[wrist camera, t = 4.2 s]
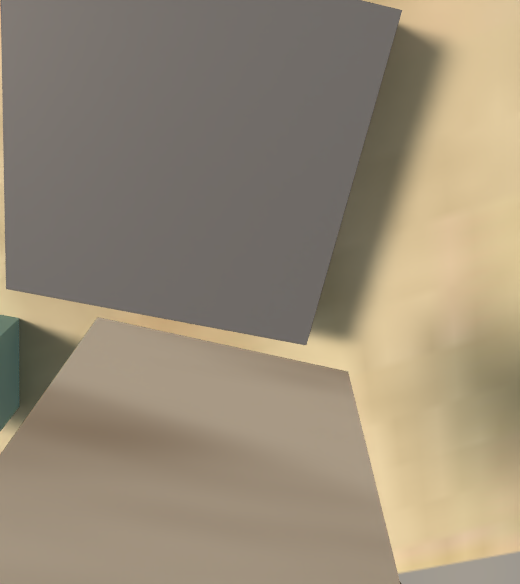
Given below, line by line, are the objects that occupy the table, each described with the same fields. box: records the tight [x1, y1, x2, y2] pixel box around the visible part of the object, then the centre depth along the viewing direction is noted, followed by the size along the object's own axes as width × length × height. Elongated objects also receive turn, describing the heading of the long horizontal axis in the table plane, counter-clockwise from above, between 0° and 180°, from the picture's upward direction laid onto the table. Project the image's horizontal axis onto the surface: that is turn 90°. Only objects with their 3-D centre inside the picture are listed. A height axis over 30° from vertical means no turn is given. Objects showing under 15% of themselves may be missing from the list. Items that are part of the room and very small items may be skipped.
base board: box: [1, 0, 402, 345], centre depth 17 cm, size 12×12×2 cm
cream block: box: [0, 317, 400, 584], centre depth 8 cm, size 5×5×5 cm
